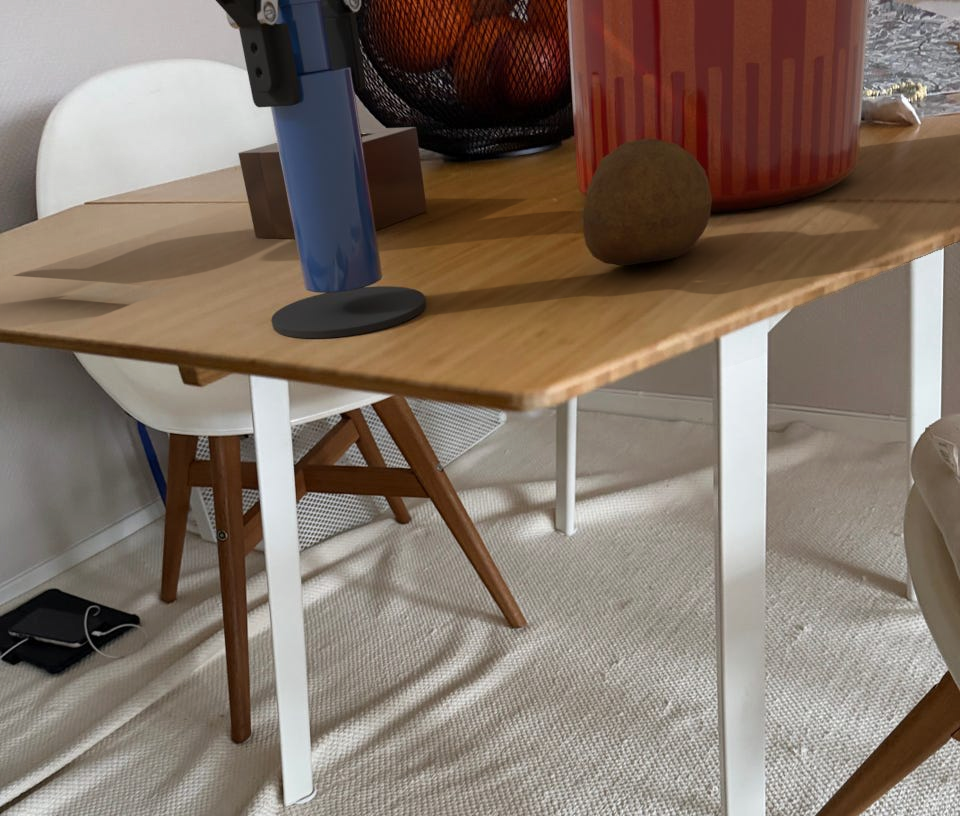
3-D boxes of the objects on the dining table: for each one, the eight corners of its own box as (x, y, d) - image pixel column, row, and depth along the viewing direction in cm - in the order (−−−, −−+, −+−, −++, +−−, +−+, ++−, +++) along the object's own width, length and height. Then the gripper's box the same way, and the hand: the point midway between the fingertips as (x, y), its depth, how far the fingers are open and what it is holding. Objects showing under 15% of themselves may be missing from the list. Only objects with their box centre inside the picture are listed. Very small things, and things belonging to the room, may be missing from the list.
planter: (591, 232, 83) (574, -83, 73) (568, 182, 103) (551, -72, 92) (896, 197, 82) (923, -129, 72) (814, 153, 102) (826, -108, 91)
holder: (255, 237, 97) (237, 152, 93) (335, 210, 104) (322, 130, 101) (349, 240, 91) (334, 150, 88) (427, 211, 99) (416, 127, 95)
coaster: (240, 332, 70) (238, 324, 70) (341, 290, 77) (339, 283, 76) (360, 343, 65) (358, 335, 64) (456, 297, 71) (455, 289, 71)
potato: (728, 239, 77) (729, 118, 73) (689, 288, 67) (688, 152, 63) (616, 242, 80) (611, 127, 76) (564, 289, 70) (555, 160, 66)
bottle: (288, 290, 69) (231, -1, 61) (339, 270, 72) (291, -8, 64) (348, 295, 66) (297, -9, 58) (398, 273, 70) (356, -16, 62)
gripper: (301, -275, 62) (354, 80, 72) (56, -303, 51) (159, 124, 60) (404, -306, 58) (447, 74, 68) (165, -345, 47) (256, 120, 56)
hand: (310, 94), depth 64 cm, fingers closed on bottle, 5 cm apart
